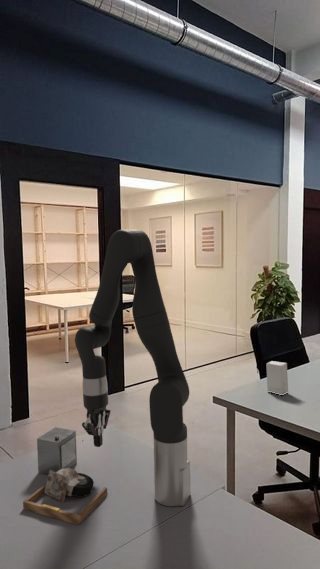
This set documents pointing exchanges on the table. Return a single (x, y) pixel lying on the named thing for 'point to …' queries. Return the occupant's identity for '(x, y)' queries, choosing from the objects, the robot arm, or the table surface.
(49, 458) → the control box
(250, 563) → the table surface
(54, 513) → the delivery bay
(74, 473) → the caster wheel
